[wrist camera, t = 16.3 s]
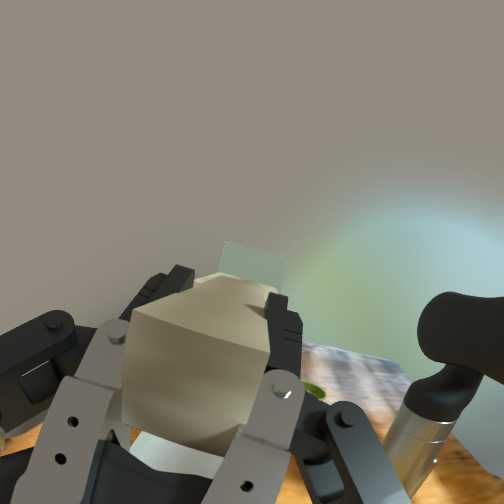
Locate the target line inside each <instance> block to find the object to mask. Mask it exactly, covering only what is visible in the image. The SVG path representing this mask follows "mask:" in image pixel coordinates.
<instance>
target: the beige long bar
mask: <svg viewBox="0 0 504 504" xmlns="http://www.w3.org/2000/svg"><path fill="white" fill-rule="evenodd" d="M269 292H273V293H277V294H279V293H278V291H277V290H276V288H275V287H271V286H267V285H264V284H260V283H257V282H253V281H250V280H246V279H243V278H239V277H235V276H232V275H229V274H225V273H222V272H219V273H215V274H212V275H209V276H205V277H202V278H199V279H196V280H194V284H193V288H190V289H188V290H185V291H183V292H180V293H174V294H172V295H169V296H167V297H164V298H161V299H159V300H156V301H153V302H151V303H148V304H146V305H143V306H140V307H138V308H135V309H133V310H132V315H131V320H130V325H129V331H128V336H127V342H126V348H125V354H124V360H123V366H122V373H121V380H120V382H121V383H123V388H122V422H123V423H125V424H128V425H130V426H132V427H135V428H137V429H139V430H142V431H144V432H147V433H149V434H152V435H154V436H157V437H160V438H162V439H165V440H168V441H171V442H174V443H177V444H179V445H182V446H186V447H189V448H192V449H195V450H198V451H202V452H205V453H209V454H212V455H216V456H220V457H225V455H226V453H227V451H228V448H229V446H230V444H231V442H232V440H233V438H234V436H235V434H236V432H237V430H238V428H239V426H240V424H245V425H246V424H247V421H248V418H249V415H250V412H251V409H252V406H253V404H254V401H255V398H256V395H257V392H258V389H259V386H260V383H261V380H262V377H263V374H264V371H265V368H266V365H267V362H268V359H269V355H270V345H269V336H268V327H267V320H266V319H265V318H264V306H265V303H266V300H267V297H268V294H269Z"/></svg>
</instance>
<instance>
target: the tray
mask: <svg viewBox="0 0 504 504" xmlns="http://www.w3.org/2000/svg"><path fill="white" fill-rule="evenodd" d="M129 453H131V454H132V455H134V456H135V457H136V458H138V459H139V460H141V461H142V462H144V463H145V464H146V465H148V466H149V467H151V468H153V469H155V470H158V471H164V472H173V473H183V474H195V475H199V476H203V477H206V478H210V479H213V478H214V476H215V474H216V472H217V470H218V468H219V466H220V464H221V462H222V460H223V458H224V457H220V456H216V455H212V454H209V453H205V452H202V451H198V450H195V449H192V448H189V447H186V446H182V445H179V444H177V443H174V442H171V441H168V440H165V439H162V438H160V437H157V436H154V435H152V434H149V433H147V432H144V431H142V432H141V433H140V435H139V436H138V437H137V439H136V440H135V442H134V443H133V444H132V446H131V447H130V451H129Z"/></svg>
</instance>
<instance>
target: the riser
mask: <svg viewBox="0 0 504 504" xmlns="http://www.w3.org/2000/svg"><path fill="white" fill-rule="evenodd" d="M288 262H289V258H288V257H284V256H280V255H277V254H274V253H270V252H266V251H263V250H259V249H256V248H252V247H249V246H245V245H242V244H238V243H235V242H231V241H227V240H226V244H225V247H224V250H223V254H222V258H221V261H220V265H219V269H218V272H217V273H219V272H222V273H225V274H229V275H232V276H235V277H239V278H243V279H246V280H250V281H253V282H257V283H260V284H264V285H267V286H271V287H275V288H276V290H277V291H278V293H280V290H281V286H282V283H283V279H284V276H285V272H286V269H287V265H288Z"/></svg>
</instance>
